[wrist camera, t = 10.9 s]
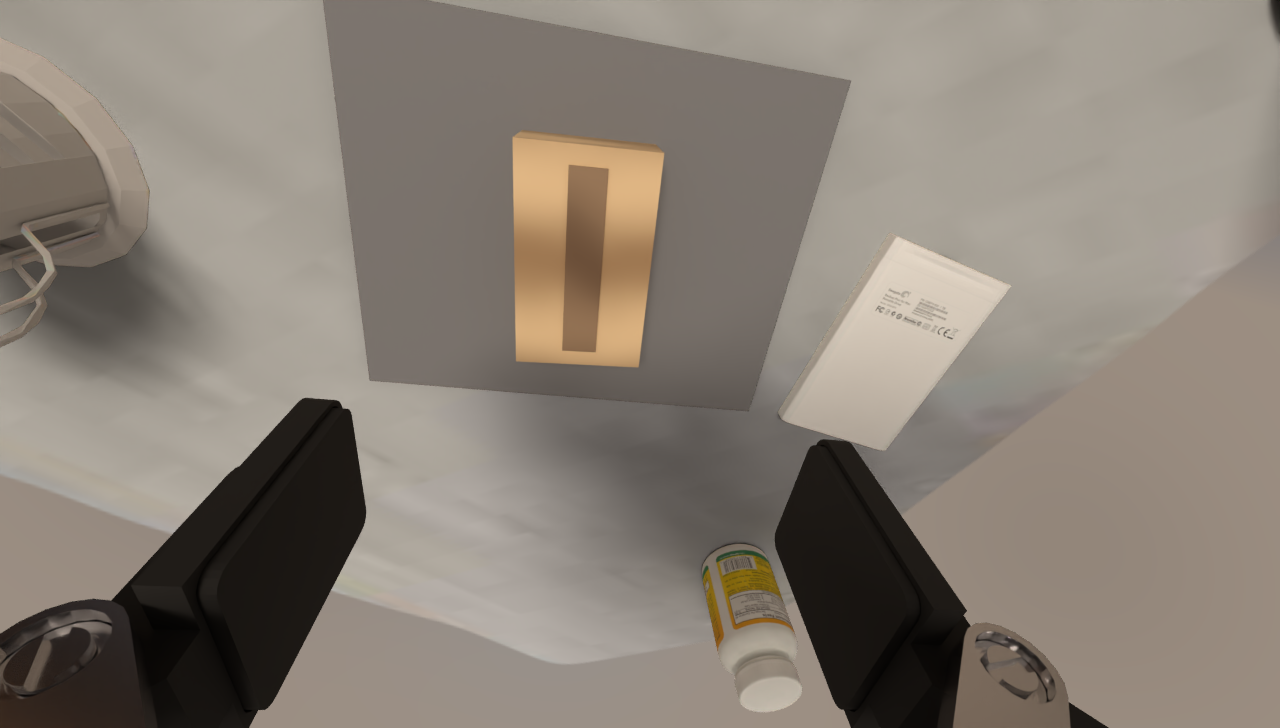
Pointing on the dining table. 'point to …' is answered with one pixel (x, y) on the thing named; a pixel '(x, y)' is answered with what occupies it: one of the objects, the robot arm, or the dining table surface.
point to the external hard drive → (890, 344)
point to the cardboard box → (582, 246)
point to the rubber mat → (484, 209)
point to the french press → (60, 178)
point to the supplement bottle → (751, 627)
